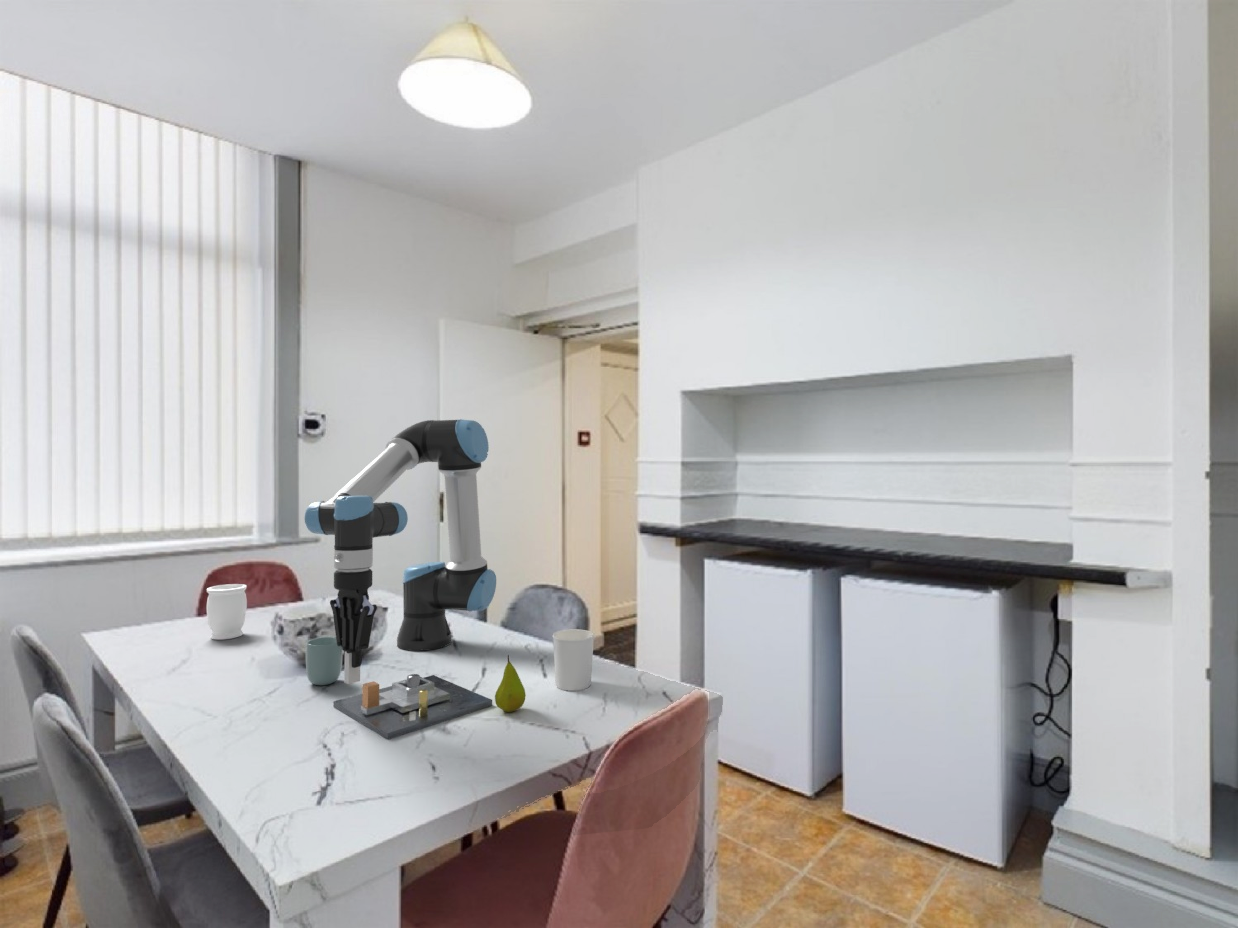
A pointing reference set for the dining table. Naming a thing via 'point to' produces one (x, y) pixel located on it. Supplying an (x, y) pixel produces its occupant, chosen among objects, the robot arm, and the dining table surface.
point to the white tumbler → (573, 659)
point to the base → (401, 723)
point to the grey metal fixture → (399, 696)
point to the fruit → (510, 690)
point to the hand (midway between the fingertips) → (352, 681)
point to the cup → (323, 660)
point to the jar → (226, 610)
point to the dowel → (422, 703)
